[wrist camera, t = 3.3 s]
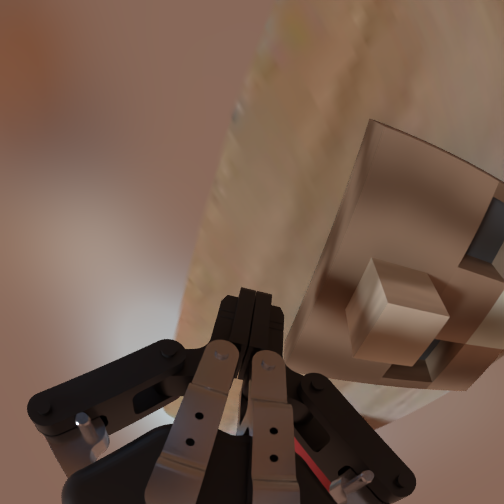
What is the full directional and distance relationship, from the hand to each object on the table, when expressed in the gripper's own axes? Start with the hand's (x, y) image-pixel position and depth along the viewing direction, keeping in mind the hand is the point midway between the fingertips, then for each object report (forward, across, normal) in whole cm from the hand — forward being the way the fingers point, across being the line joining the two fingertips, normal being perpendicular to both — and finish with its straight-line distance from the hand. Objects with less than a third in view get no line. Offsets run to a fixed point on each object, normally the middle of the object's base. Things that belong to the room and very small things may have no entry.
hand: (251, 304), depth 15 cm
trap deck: (+6, -14, 0) cm, 15 cm away
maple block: (+3, -8, 0) cm, 9 cm away
